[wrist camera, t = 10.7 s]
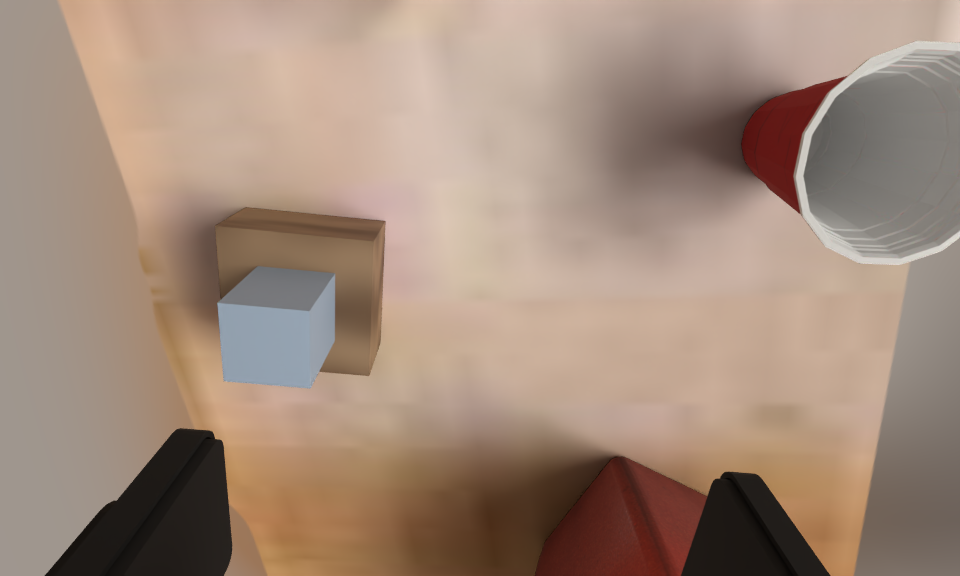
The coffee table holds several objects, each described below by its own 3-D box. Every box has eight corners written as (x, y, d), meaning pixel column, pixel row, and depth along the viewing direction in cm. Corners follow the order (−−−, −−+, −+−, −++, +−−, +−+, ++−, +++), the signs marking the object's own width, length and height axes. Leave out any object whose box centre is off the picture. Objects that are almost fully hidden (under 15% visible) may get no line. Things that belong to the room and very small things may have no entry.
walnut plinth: (245, 207, 39) (214, 225, 34) (385, 221, 39) (373, 241, 35) (252, 331, 42) (225, 363, 38) (380, 342, 43) (369, 375, 38)
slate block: (257, 266, 35) (217, 302, 30) (335, 273, 35) (309, 311, 30) (261, 334, 37) (223, 381, 31) (334, 340, 37) (310, 388, 32)
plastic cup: (871, 35, 35) (1057, 18, 24) (854, 198, 39) (1006, 248, 28) (702, 63, 36) (808, 60, 24) (703, 221, 40) (794, 280, 28)
